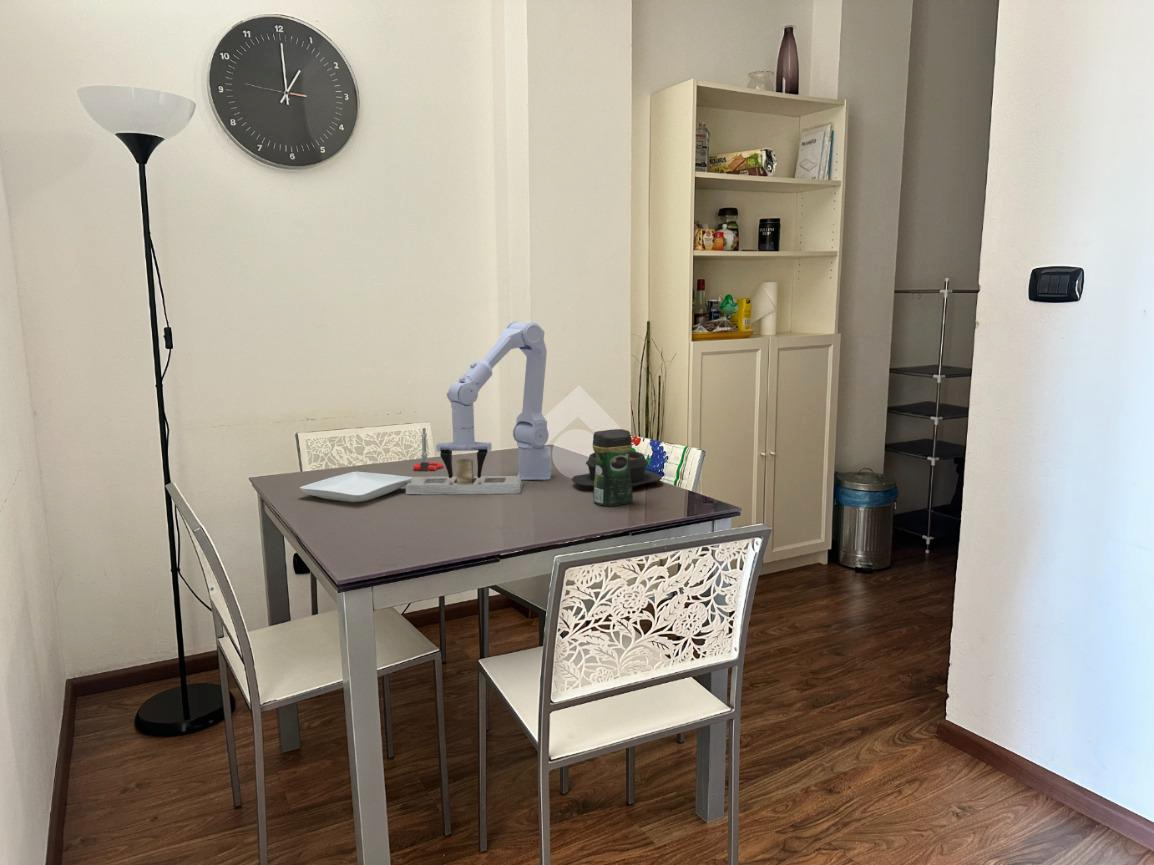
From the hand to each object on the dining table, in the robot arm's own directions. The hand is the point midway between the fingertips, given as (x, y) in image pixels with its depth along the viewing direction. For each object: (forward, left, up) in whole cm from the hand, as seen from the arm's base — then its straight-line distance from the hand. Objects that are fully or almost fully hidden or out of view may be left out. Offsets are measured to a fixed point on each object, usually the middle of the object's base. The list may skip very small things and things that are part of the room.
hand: (465, 477), depth 221 cm
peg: (0, 0, -3) cm, 3 cm away
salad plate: (+28, +4, -4) cm, 29 cm away
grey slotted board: (0, 0, -3) cm, 3 cm away
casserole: (-41, -4, -4) cm, 41 cm away
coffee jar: (-39, +15, -4) cm, 42 cm away
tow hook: (+15, -28, -4) cm, 32 cm away
